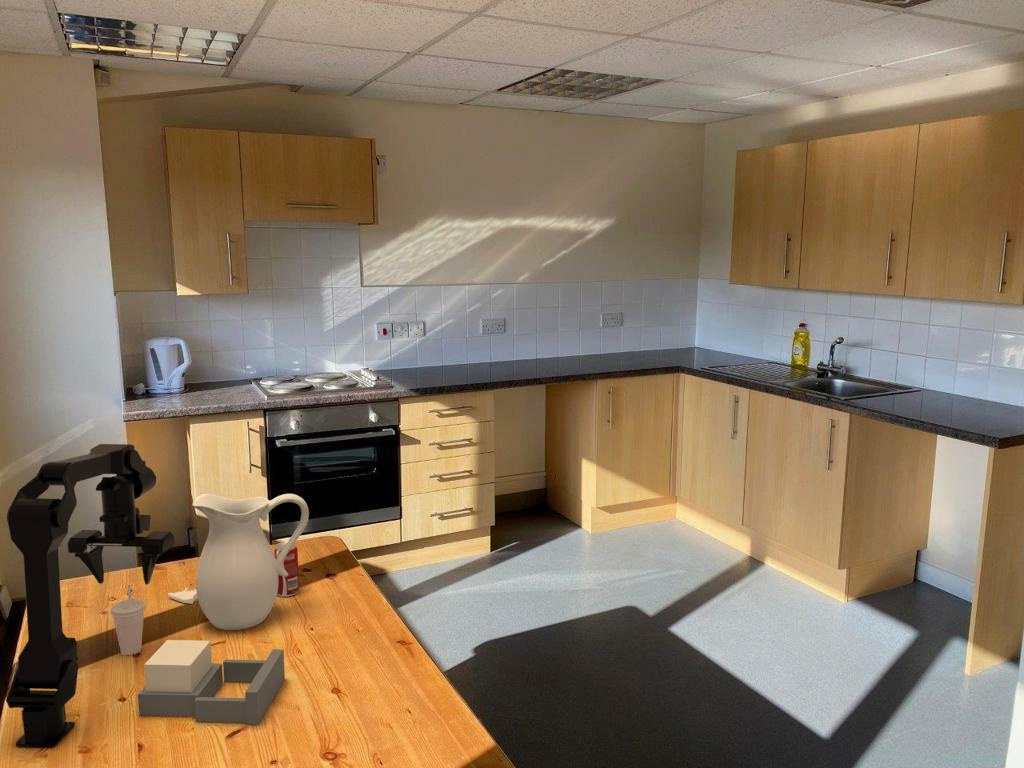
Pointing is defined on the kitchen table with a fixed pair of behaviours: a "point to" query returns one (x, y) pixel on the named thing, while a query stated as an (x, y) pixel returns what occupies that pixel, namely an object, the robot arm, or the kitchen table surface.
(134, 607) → the smoothie
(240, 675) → the stand
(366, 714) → the kitchen table surface
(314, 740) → the kitchen table surface
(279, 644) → the kitchen table surface
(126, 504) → the robot arm
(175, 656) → the carton
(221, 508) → the pitcher
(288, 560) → the soda can
